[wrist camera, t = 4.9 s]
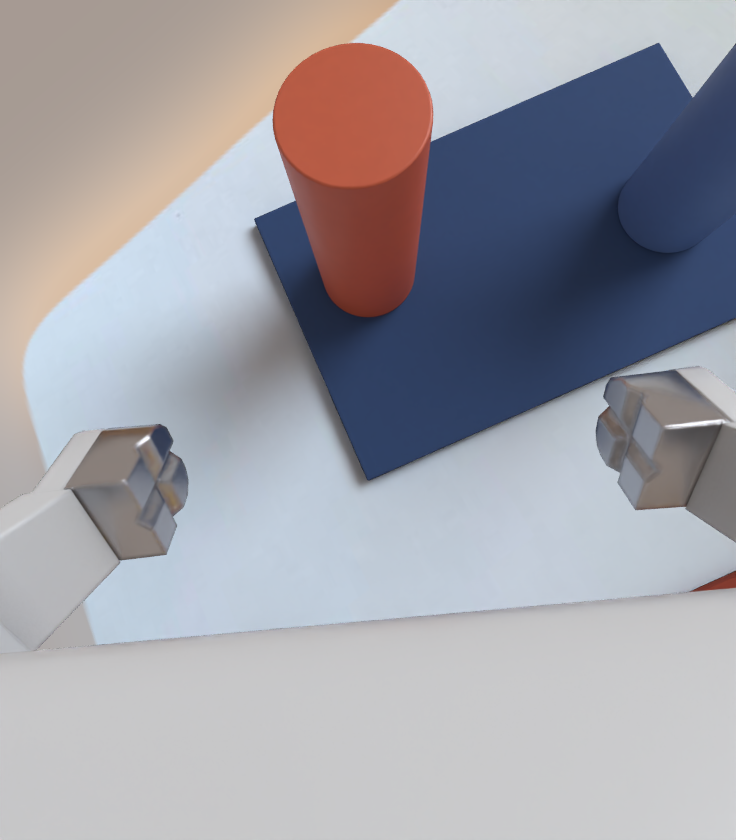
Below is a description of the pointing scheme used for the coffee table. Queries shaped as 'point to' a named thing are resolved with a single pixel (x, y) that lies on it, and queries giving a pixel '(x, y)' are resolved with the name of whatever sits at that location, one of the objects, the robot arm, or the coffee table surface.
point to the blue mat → (514, 271)
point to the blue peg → (687, 172)
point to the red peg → (358, 169)
